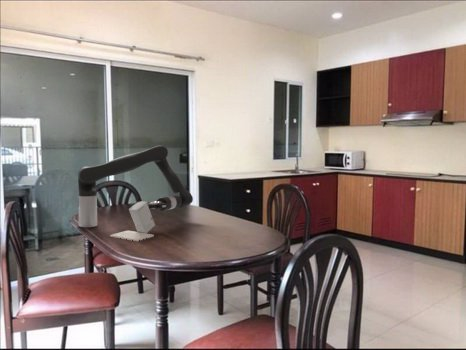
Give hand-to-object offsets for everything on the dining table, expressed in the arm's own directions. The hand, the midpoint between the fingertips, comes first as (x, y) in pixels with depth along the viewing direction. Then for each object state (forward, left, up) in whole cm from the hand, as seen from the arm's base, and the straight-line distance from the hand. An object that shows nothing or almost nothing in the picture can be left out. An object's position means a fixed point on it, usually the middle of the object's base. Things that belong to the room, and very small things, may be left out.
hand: (145, 207), depth 197 cm
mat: (0, -10, -13) cm, 17 cm away
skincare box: (0, +1, -12) cm, 12 cm away
